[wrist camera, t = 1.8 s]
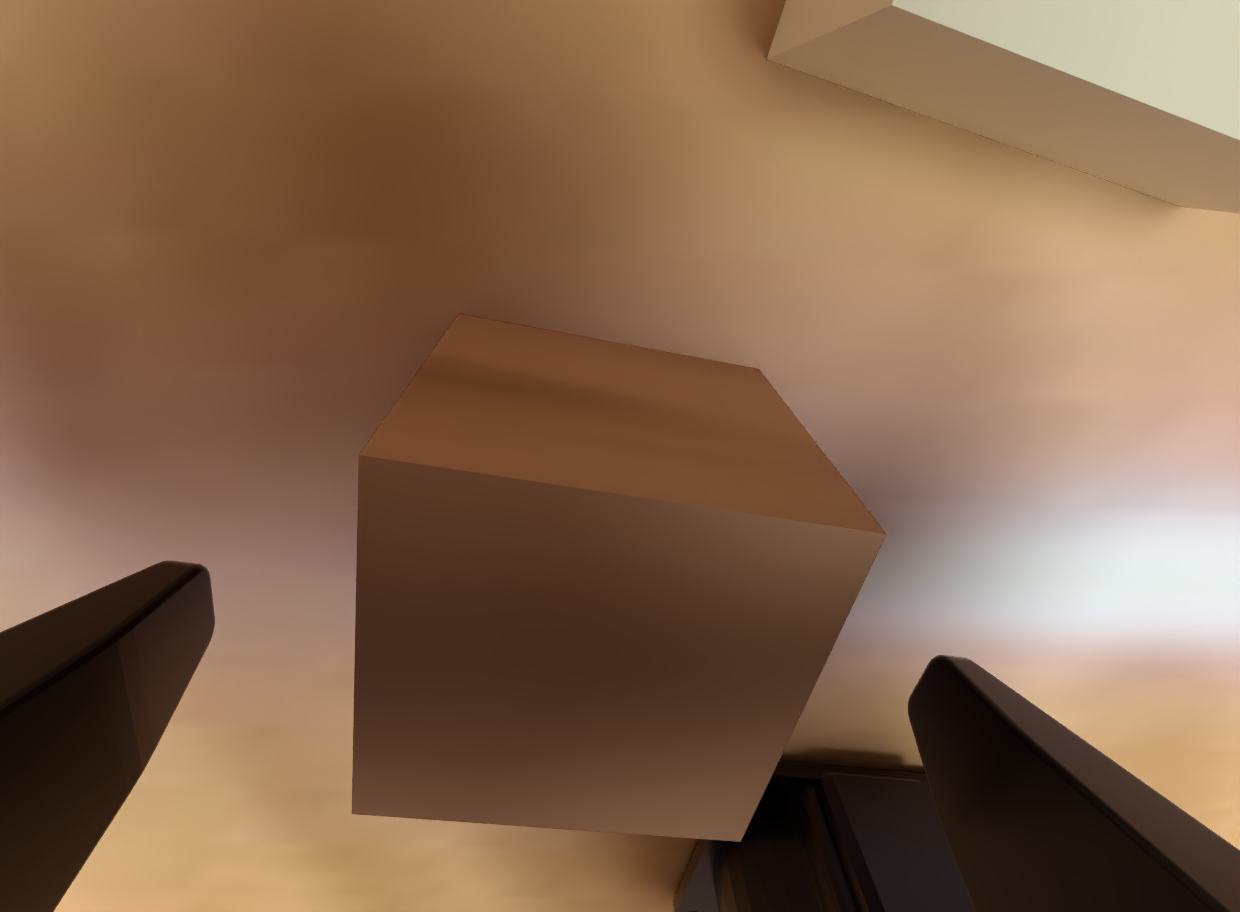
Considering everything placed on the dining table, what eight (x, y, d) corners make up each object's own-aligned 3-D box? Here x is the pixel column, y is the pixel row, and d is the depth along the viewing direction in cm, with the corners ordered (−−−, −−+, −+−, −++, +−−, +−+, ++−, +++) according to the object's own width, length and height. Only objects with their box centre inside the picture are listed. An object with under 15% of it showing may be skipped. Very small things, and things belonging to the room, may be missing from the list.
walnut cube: (685, 596, 13) (740, 842, 8) (437, 564, 12) (351, 813, 8) (758, 367, 11) (886, 534, 6) (459, 312, 10) (358, 454, 5)
